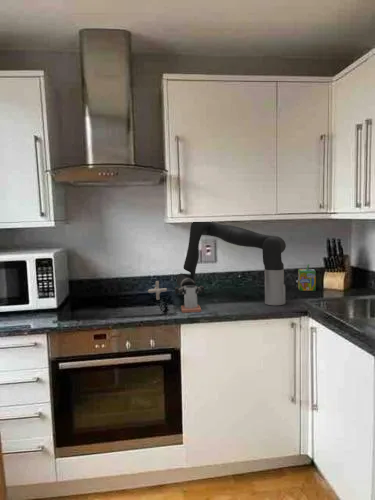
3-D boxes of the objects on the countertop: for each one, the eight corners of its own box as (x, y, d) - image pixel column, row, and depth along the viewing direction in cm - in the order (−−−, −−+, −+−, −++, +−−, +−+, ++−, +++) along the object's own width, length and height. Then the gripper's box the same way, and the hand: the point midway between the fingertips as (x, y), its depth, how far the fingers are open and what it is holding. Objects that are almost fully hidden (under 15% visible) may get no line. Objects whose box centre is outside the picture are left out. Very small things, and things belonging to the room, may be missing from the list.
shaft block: (199, 307, 183) (198, 294, 183) (201, 311, 175) (200, 298, 174) (181, 308, 183) (180, 295, 182) (182, 312, 174) (181, 299, 173)
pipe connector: (150, 302, 197) (149, 283, 196) (147, 298, 207) (146, 280, 206) (168, 300, 200) (168, 282, 199) (165, 296, 210) (164, 279, 209)
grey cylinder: (196, 305, 182) (195, 285, 181) (197, 308, 176) (197, 287, 175) (184, 306, 181) (183, 285, 181) (185, 309, 176) (184, 288, 175)
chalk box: (297, 287, 222) (297, 263, 220) (314, 288, 220) (313, 263, 218) (299, 291, 213) (299, 265, 211) (316, 291, 211) (316, 265, 209)
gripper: (174, 279, 191) (175, 285, 175) (201, 278, 192) (205, 284, 176) (174, 294, 192) (175, 301, 176) (202, 292, 193) (205, 299, 177)
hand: (190, 292), depth 176 cm, fingers open, 8 cm apart
